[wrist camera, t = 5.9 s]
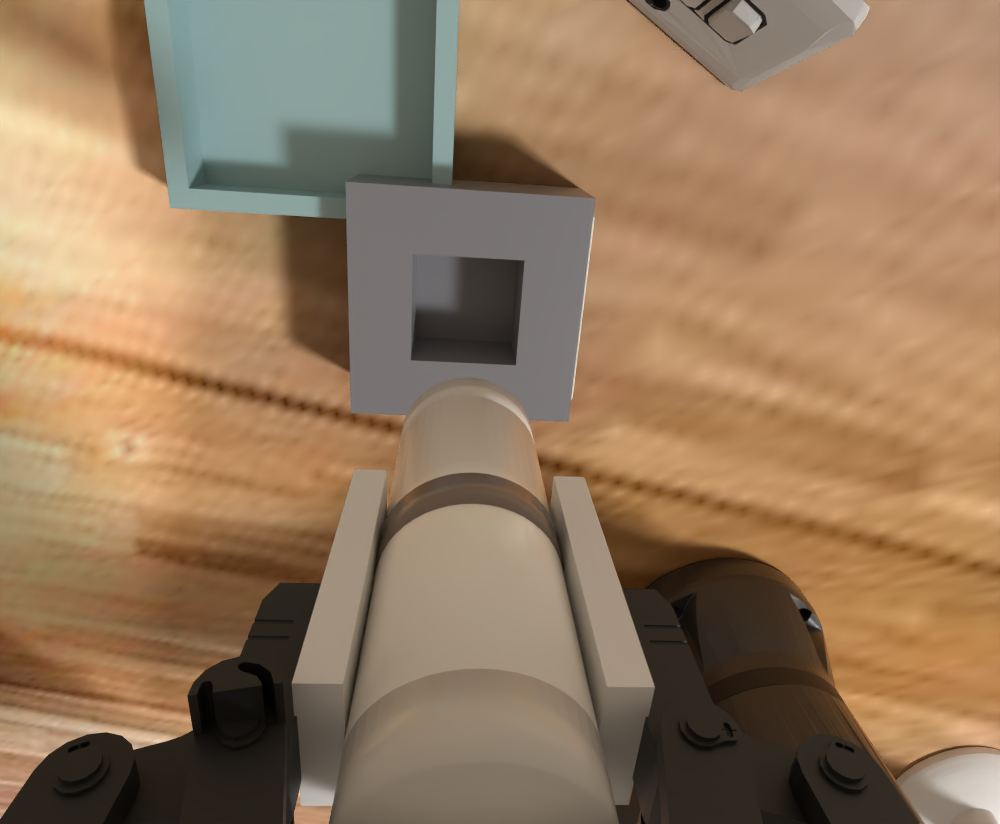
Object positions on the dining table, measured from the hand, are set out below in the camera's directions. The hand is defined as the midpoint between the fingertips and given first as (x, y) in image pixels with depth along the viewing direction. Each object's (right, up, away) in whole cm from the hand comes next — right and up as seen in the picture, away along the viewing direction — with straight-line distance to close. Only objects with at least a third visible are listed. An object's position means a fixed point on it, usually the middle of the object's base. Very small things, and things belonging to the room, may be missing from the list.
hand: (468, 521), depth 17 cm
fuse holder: (-1, +10, +23) cm, 25 cm away
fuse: (0, +2, +4) cm, 5 cm away
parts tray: (-8, +23, +16) cm, 29 cm away
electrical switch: (+11, +24, +17) cm, 32 cm away
